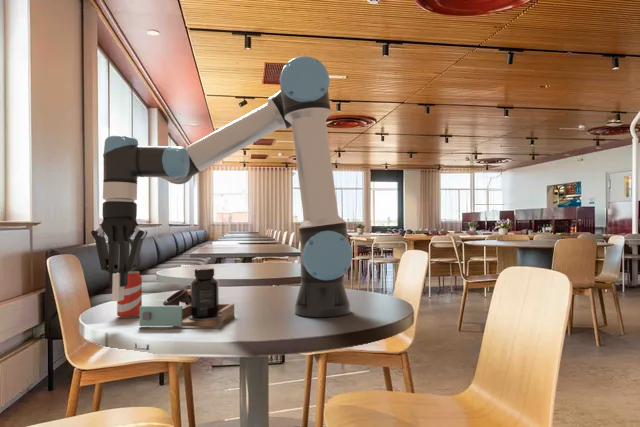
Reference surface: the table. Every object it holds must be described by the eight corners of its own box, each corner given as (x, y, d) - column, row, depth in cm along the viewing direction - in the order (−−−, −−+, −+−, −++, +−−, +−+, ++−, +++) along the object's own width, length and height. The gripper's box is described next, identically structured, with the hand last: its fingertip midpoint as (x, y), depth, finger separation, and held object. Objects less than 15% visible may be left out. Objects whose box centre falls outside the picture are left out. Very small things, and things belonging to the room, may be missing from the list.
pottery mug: (201, 320, 120) (184, 294, 118) (170, 335, 121) (153, 310, 119) (212, 301, 131) (197, 277, 130) (184, 316, 132) (168, 292, 131)
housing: (236, 317, 121) (236, 303, 121) (221, 328, 106) (221, 313, 106) (164, 317, 122) (164, 304, 122) (139, 328, 107) (139, 313, 107)
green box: (182, 325, 108) (182, 305, 108) (179, 326, 106) (179, 306, 106) (141, 325, 108) (141, 305, 108) (137, 327, 106) (137, 307, 107)
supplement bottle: (223, 314, 118) (223, 267, 118) (211, 319, 111) (210, 270, 112) (199, 313, 120) (199, 267, 120) (185, 318, 113) (185, 269, 113)
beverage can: (111, 318, 121) (112, 273, 122) (127, 314, 127) (127, 271, 128) (131, 319, 120) (132, 273, 120) (146, 314, 126) (146, 271, 126)
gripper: (153, 202, 113) (151, 298, 112) (102, 202, 114) (100, 298, 113) (139, 200, 105) (137, 303, 104) (84, 200, 106) (82, 302, 105)
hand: (118, 300), depth 108 cm, fingers closed
